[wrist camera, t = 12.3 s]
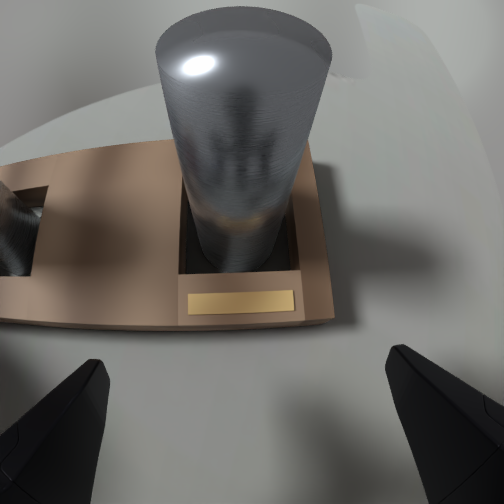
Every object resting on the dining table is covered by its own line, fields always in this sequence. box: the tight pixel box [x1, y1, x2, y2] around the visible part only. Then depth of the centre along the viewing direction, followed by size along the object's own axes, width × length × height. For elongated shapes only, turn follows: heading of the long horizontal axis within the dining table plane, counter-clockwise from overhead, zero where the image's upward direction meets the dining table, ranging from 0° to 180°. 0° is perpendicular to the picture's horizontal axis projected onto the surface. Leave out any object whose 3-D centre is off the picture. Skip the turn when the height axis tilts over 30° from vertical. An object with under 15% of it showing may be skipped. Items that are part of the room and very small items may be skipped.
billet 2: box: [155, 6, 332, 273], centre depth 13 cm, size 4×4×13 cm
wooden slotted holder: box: [0, 139, 335, 331], centre depth 17 cm, size 24×11×3 cm, turn 93°
